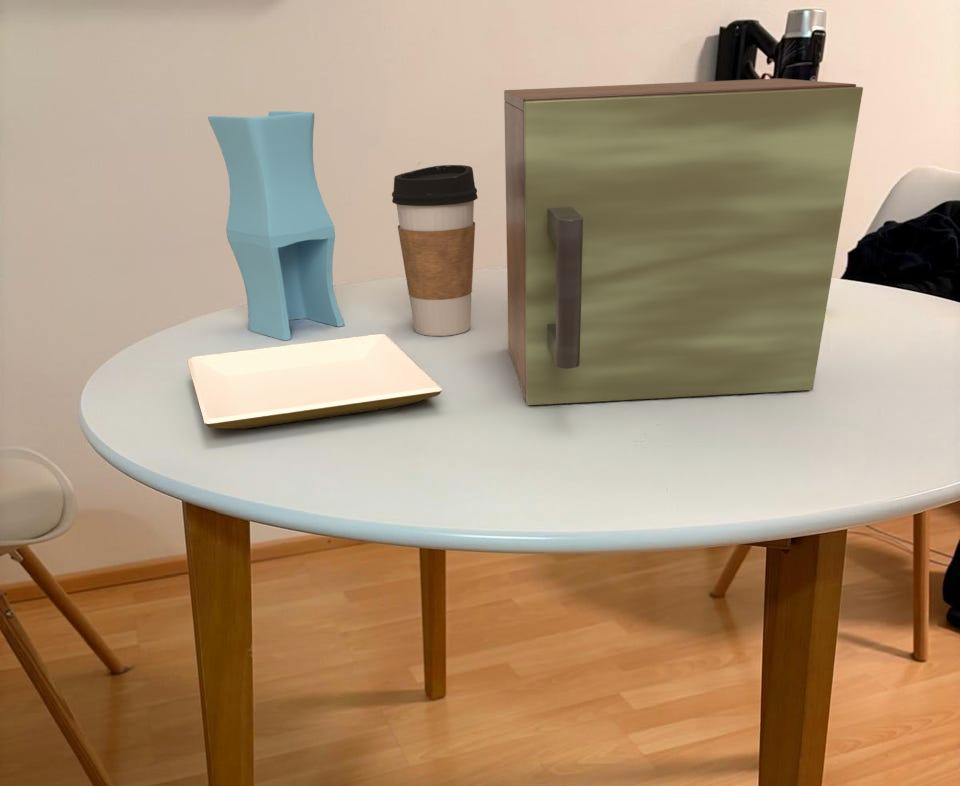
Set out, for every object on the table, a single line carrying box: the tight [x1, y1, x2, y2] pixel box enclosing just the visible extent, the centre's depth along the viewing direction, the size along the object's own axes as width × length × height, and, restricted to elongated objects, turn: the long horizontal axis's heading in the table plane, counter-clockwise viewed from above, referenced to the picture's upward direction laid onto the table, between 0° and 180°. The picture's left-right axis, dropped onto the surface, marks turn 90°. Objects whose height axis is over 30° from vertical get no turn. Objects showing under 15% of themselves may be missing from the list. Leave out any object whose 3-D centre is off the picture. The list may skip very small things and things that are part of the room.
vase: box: [207, 110, 346, 342], centre depth 93 cm, size 8×8×20 cm
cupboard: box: [503, 78, 857, 403], centre depth 76 cm, size 16×24×22 cm
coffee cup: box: [391, 164, 479, 337], centre depth 92 cm, size 8×8×15 cm
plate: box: [187, 333, 443, 430], centre depth 78 cm, size 19×19×2 cm
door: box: [524, 86, 864, 406], centre depth 66 cm, size 7×24×21 cm, turn 93°
